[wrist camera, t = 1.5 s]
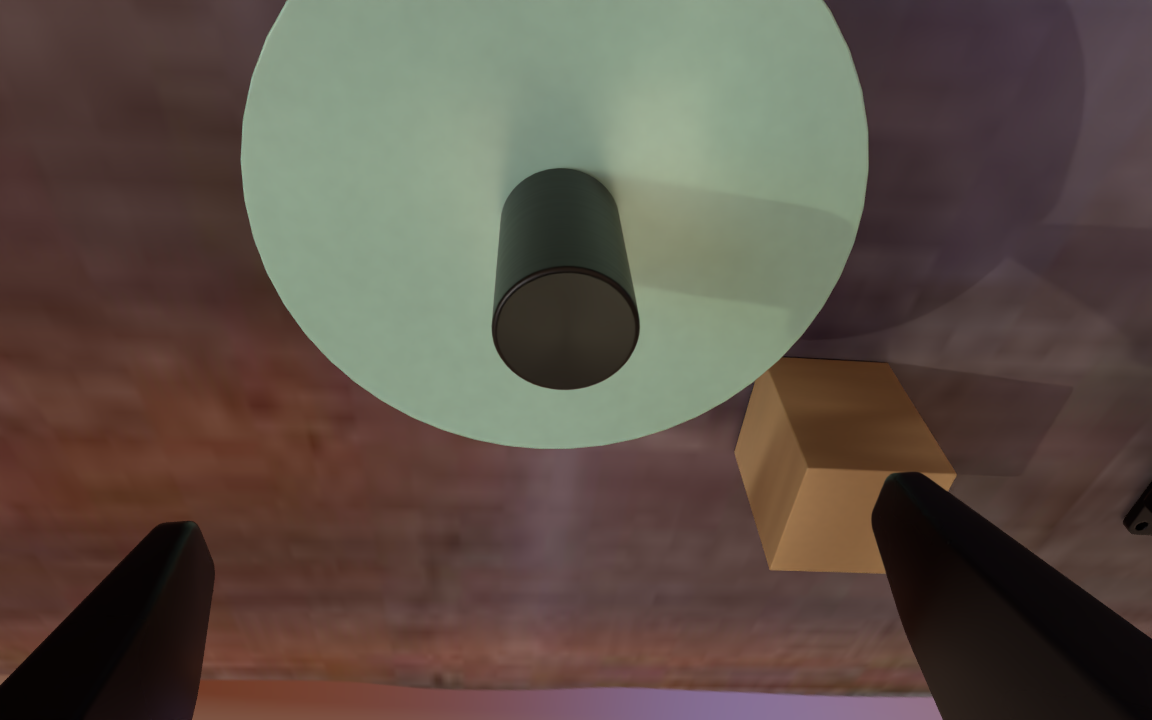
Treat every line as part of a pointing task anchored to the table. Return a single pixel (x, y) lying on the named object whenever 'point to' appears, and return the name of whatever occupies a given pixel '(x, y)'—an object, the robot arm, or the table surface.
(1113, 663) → the robot arm
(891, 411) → the block
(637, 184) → the lid
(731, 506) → the table surface
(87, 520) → the table surface
